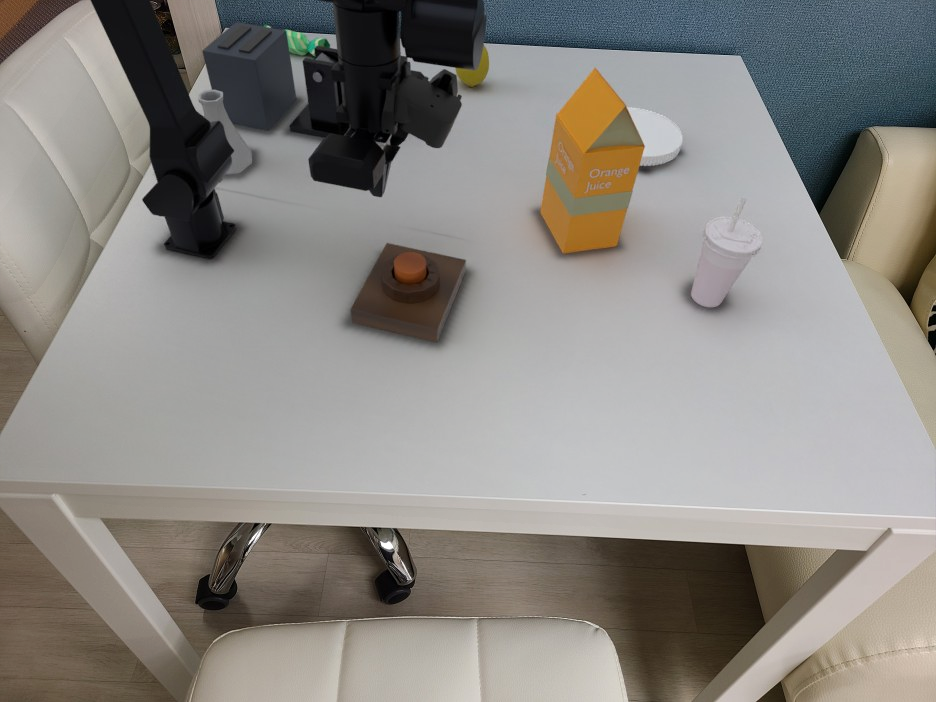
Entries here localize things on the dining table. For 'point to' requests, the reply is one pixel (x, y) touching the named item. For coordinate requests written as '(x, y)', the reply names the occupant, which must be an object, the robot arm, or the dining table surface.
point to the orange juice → (591, 168)
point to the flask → (226, 129)
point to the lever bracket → (320, 98)
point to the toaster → (252, 74)
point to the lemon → (475, 76)
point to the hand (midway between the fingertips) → (378, 194)
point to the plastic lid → (656, 136)
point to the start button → (410, 268)
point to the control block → (409, 295)
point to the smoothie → (724, 256)
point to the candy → (303, 43)
